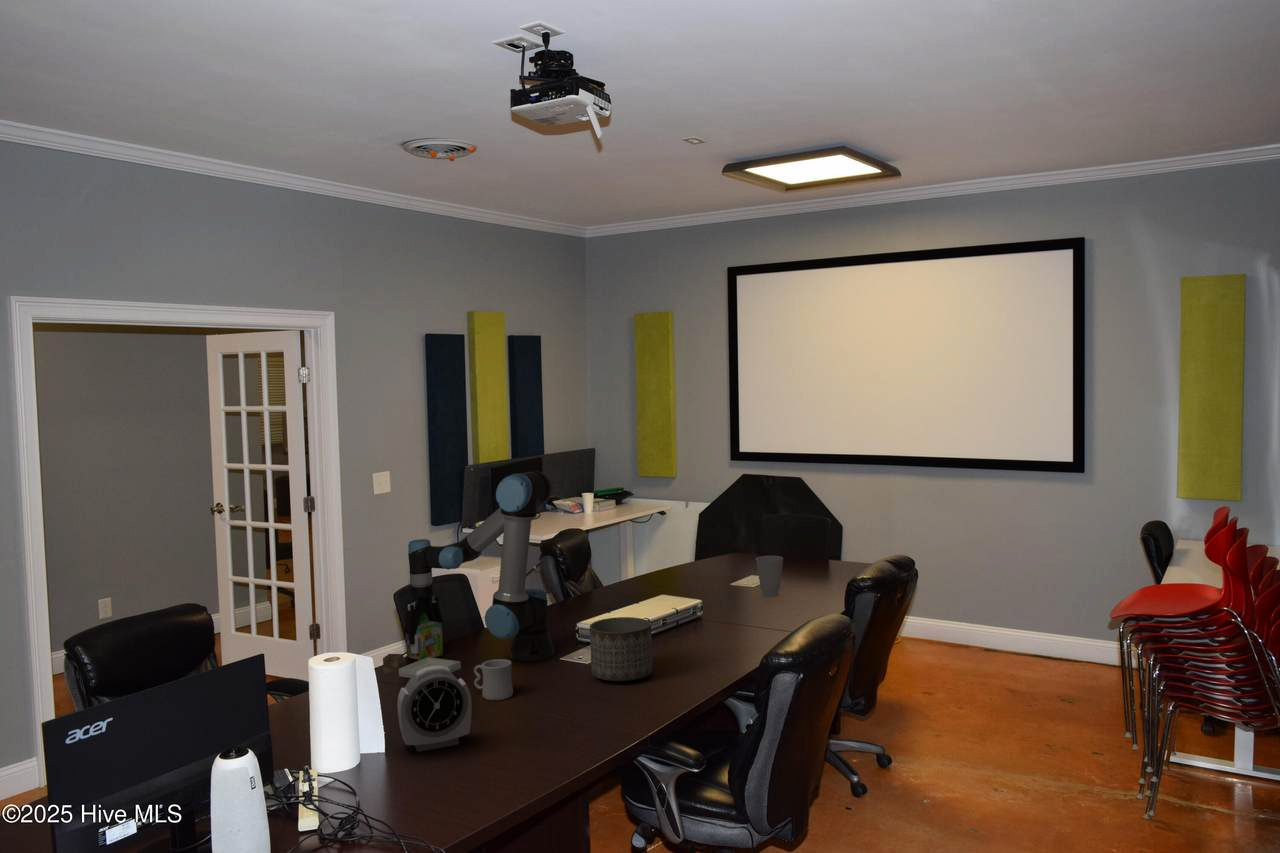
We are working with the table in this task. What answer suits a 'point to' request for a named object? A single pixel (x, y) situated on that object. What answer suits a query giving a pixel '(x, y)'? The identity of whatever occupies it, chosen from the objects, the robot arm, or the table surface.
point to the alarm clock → (434, 709)
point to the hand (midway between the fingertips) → (425, 649)
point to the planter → (621, 649)
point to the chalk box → (427, 640)
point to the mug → (495, 679)
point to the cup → (769, 574)
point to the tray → (427, 662)
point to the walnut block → (393, 663)
